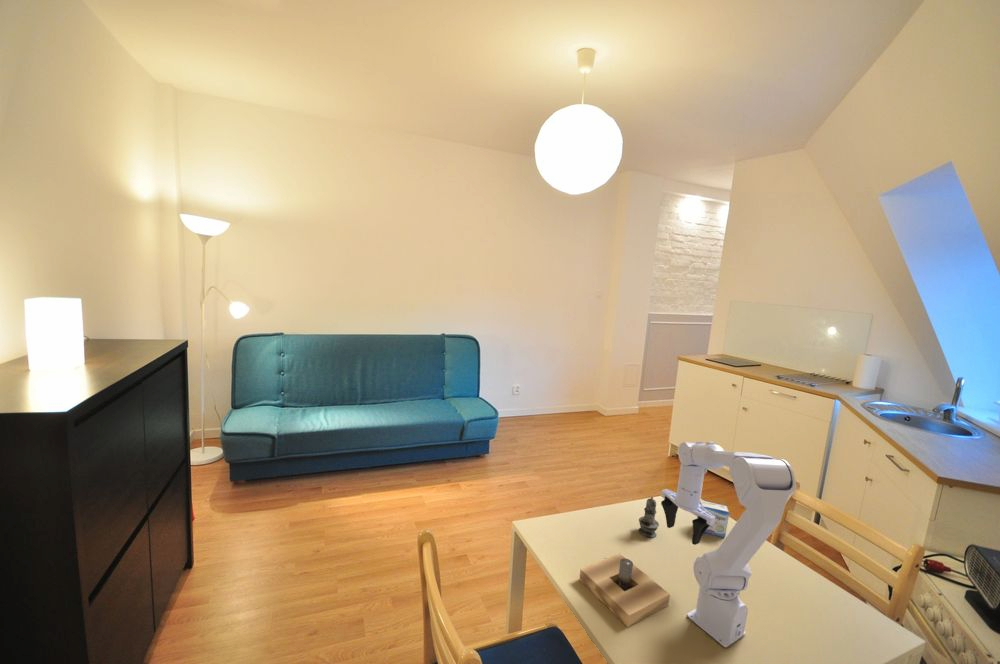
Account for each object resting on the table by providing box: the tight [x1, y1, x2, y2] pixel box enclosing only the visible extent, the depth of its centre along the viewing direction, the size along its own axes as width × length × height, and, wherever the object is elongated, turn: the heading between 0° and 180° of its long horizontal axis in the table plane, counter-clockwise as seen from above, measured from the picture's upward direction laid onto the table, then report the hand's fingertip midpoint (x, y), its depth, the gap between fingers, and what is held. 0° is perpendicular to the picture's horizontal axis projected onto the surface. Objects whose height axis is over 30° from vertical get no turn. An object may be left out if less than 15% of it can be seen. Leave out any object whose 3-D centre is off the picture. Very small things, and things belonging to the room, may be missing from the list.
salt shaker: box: [637, 496, 660, 539], centre depth 127 cm, size 6×6×12 cm
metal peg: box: [617, 557, 634, 591], centre depth 102 cm, size 3×3×8 cm
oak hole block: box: [578, 553, 671, 628], centre depth 102 cm, size 16×14×3 cm
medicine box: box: [696, 499, 730, 538], centre depth 131 cm, size 8×4×9 cm, turn 73°
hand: (682, 534), depth 110 cm, fingers open, 7 cm apart
